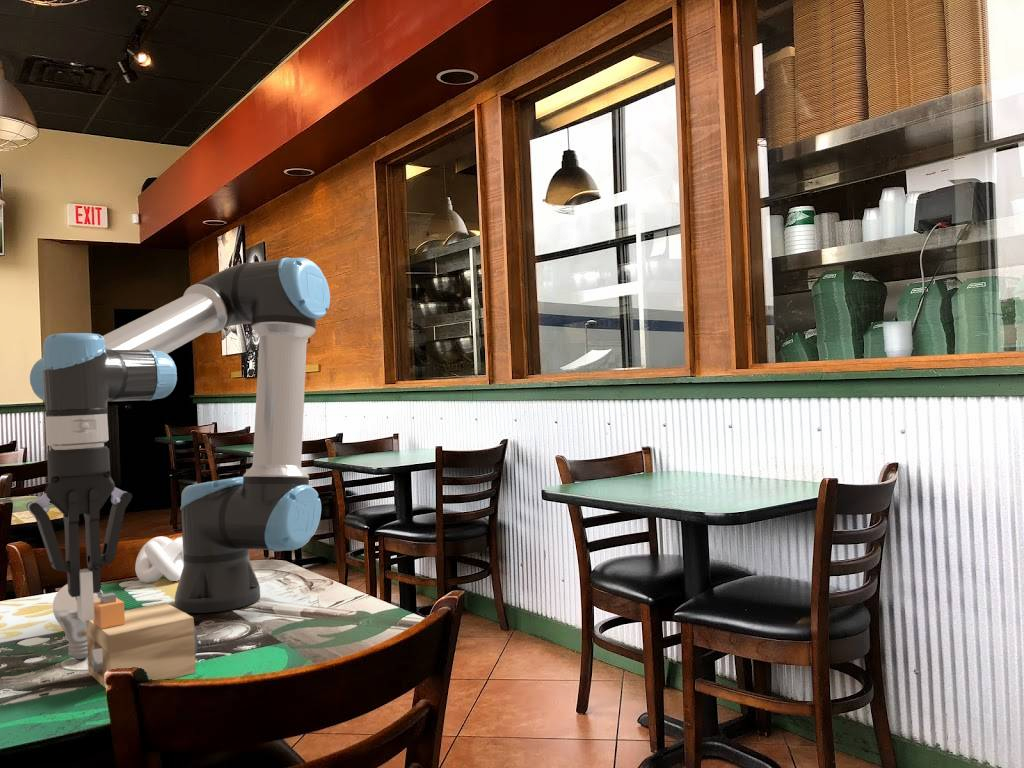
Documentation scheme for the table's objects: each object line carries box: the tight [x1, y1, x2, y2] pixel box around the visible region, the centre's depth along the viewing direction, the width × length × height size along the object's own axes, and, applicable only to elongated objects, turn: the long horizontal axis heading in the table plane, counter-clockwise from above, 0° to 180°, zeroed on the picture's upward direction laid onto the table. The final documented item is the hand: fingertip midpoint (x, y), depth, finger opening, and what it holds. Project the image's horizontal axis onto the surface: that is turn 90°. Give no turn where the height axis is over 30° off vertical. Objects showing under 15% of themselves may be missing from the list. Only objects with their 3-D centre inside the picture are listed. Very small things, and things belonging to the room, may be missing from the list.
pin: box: [91, 625, 199, 672], centre depth 116 cm, size 5×13×5 cm, turn 131°
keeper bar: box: [93, 592, 125, 629], centre depth 113 cm, size 4×3×4 cm
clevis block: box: [86, 602, 197, 688], centre depth 115 cm, size 12×11×8 cm
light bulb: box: [52, 583, 104, 662], centre depth 122 cm, size 7×7×12 cm
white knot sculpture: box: [134, 535, 184, 584], centre depth 174 cm, size 11×12×9 cm
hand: (85, 618), depth 111 cm, fingers closed
